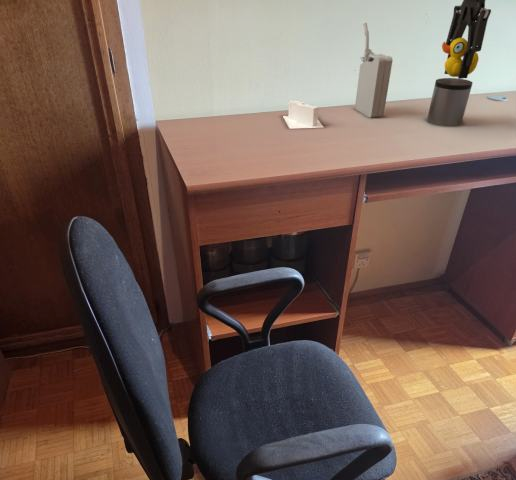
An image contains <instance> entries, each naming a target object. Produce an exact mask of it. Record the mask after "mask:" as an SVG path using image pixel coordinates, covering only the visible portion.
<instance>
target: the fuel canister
mask: <svg viewBox="0 0 516 480" xmlns="http://www.w3.org/2000/svg"><path fill="white" fill-rule="evenodd" d="M363 30H364V36H365V49H364V54H363V56H360V60H361V62H362V63H360V65H359V71H358V78H357V79H358V80H357V87H356V95H355V104H354V110H356V111H358V112H359V113H361V114H363V115H364V116H366V117H367V118H370V119H371V118H382V117H384V115H385V109H386V103H387V96H388V93H389V92H388V91H389V86H390V78H391V72H392V67H393V61H394V60H393V57H392V56H390V55H386V54H383V53H379V54H377V53H375V52H373V51H372V49H370V33H369V32H370V31H369V28H368V23H367V22H365V23H363Z"/></svg>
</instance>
